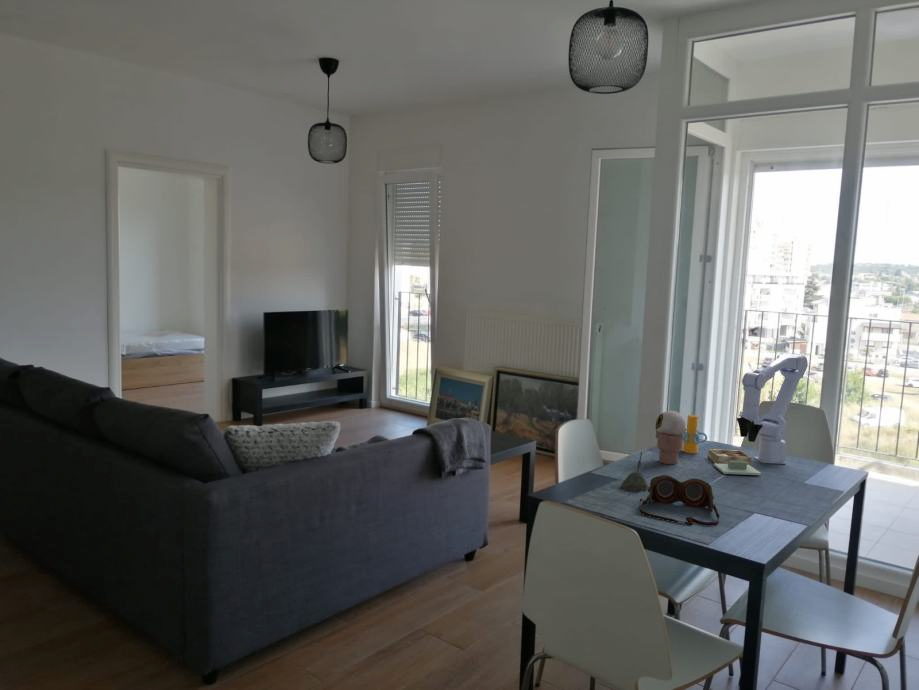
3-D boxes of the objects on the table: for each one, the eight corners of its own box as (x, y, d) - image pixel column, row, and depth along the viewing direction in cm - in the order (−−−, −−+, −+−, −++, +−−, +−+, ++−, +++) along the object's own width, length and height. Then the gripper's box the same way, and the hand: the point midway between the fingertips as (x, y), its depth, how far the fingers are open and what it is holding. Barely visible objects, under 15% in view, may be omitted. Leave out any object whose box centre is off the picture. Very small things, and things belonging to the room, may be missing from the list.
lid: (749, 469, 269) (750, 458, 269) (760, 477, 259) (761, 466, 259) (713, 467, 269) (714, 456, 269) (723, 475, 259) (724, 464, 259)
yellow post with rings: (670, 447, 295) (673, 412, 293) (694, 447, 297) (697, 412, 295) (685, 456, 283) (688, 419, 281) (709, 455, 285) (712, 419, 283)
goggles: (646, 523, 206) (650, 490, 205) (625, 498, 229) (628, 468, 228) (729, 529, 207) (733, 496, 206) (700, 503, 230) (703, 473, 229)
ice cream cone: (647, 458, 276) (651, 408, 274) (671, 457, 280) (675, 407, 277) (663, 466, 266) (667, 414, 264) (688, 465, 269) (692, 413, 267)
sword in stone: (637, 494, 233) (638, 458, 232) (616, 489, 238) (617, 454, 237) (653, 488, 240) (655, 453, 239) (633, 483, 245) (634, 449, 244)
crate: (740, 459, 282) (741, 450, 282) (750, 466, 272) (751, 457, 272) (707, 457, 282) (708, 449, 282) (716, 464, 272) (717, 455, 272)
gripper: (733, 399, 277) (729, 434, 279) (748, 407, 263) (744, 443, 265) (751, 400, 278) (747, 435, 279) (767, 408, 263) (763, 444, 265)
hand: (747, 439), depth 272 cm, fingers open, 7 cm apart
